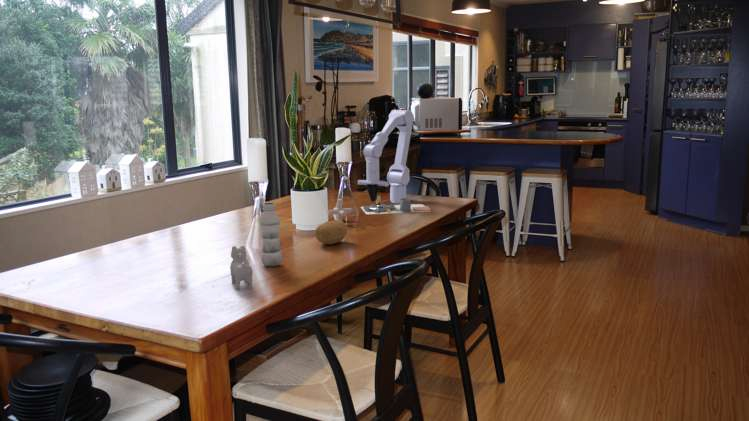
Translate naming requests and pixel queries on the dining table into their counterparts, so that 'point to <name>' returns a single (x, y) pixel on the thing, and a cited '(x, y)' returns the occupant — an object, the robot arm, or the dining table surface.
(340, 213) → the pipe connector
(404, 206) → the grey rectangular block
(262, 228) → the grey tiered tower
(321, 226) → the potato
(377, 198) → the sprocket
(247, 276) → the dog figurine
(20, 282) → the dining table surface
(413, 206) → the board
